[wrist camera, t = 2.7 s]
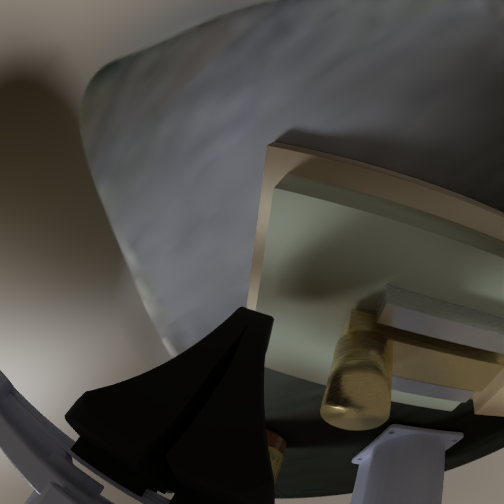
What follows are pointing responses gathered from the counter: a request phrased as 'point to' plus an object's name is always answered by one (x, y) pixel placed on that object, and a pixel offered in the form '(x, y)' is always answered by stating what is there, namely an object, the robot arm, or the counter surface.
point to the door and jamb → (364, 257)
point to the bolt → (394, 369)
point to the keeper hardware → (438, 332)
